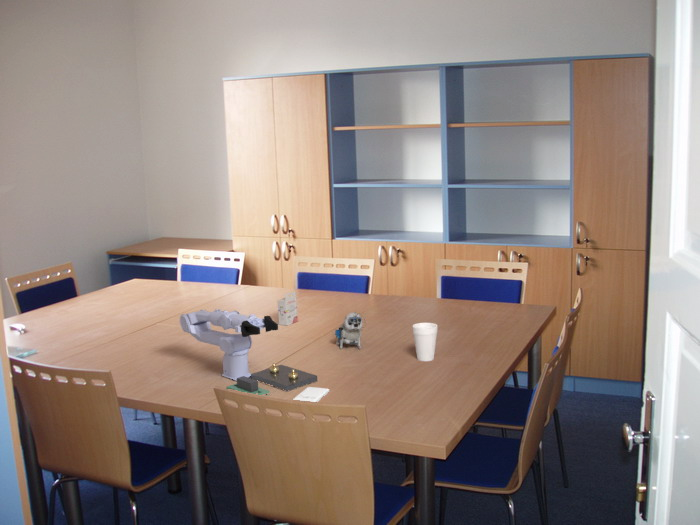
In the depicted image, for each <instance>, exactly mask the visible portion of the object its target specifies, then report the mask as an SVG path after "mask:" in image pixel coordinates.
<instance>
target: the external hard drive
mask: <svg viewBox="0 0 700 525" xmlns="http://www.w3.org/2000/svg"><path fill="white" fill-rule="evenodd" d="M328 392H329V393H330V389H329V388H327V387H326V388H324V387H315V386H313V387H312V386H307V387H306V388H304V390H302V391H301V392H300V393H298V394H297V395H296V396H295V397H294V398H292V399H293V400H300V401H310V402H317V403H318V402H319V401H321V398H322V397H323V396H324V397H326V395H327V394H329V393H328ZM324 397H323V398H324ZM323 398H322V399H323Z"/></svg>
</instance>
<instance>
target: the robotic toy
mask: <svg viewBox="0 0 700 525" xmlns="http://www.w3.org/2000/svg"><path fill="white" fill-rule="evenodd" d="M360 315H361V313H360V312H358V313H357V312H355V311H353V312H349V313H347V315H346V316H345V317H344V321H343V323H342V324H341V325H340V327H338V329H335V330H334V335H335V336H336V338H337V339H336V343H335V344H336V346H339V349H340V350H343V344H346V345H357V348H358V349H359V350H360V349H362V346H361V338H362V332H363V330H362V329H363V328H365V326H363V323H366V320H365V318H363V319H362V317H363V316H360ZM363 320H364V321H363Z"/></svg>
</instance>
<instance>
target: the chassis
mask: <svg viewBox="0 0 700 525" xmlns="http://www.w3.org/2000/svg"><path fill="white" fill-rule="evenodd" d="M250 378H252V379H254V380H258V381H261V382H264V383H267V384H270V385H273V386H275V387H278V388H281V389H284V390H286V391H285V392H289V391H288V390H290V391H292V390H291V389H293V390H295V389H294V388H296V389H298V388H297V387H299V388H302V387H304V386H303V385H305V386H307V385H306V384H308V385H310V384H313V383H316V382H318V375H316V374H313V373H310V372H306V371H303V370H300V369H297V368H293V367H291V366H287V365H284V364H279V365H276V363H272V366H270V367H269V368H265V369H263V370H259V371H256V372H252V373H251V377H250ZM315 381H316V382H315ZM261 382H260V383H261ZM312 382H313V383H312ZM309 383H310V384H309ZM301 386H302V387H301ZM275 387H274V388H275ZM278 388H277V389H278ZM281 389H280V390H281ZM284 390H283V391H284Z"/></svg>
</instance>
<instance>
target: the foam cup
mask: <svg viewBox="0 0 700 525" xmlns="http://www.w3.org/2000/svg"><path fill="white" fill-rule="evenodd" d="M412 333H413V339H414V340H413V341H414V345H415V352H416V357H417V358H416V359H417V360H418V361H420V362H431V361H434V358H435V351H436V343H437V334H438V324H437V323H435V322H434V323H433V322H419V323H414V324H412Z"/></svg>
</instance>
